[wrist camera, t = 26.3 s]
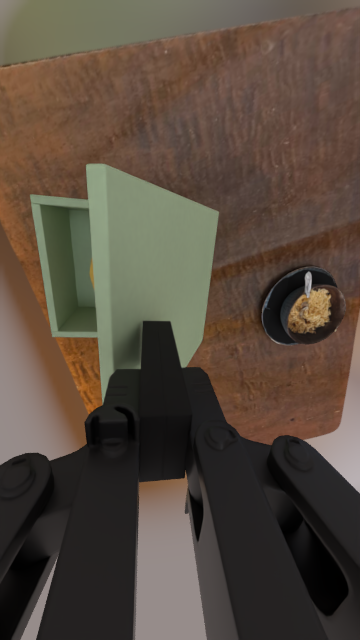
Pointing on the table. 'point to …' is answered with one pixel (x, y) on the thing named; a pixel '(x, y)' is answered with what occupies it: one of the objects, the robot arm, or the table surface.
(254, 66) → the table surface
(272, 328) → the soup bowl
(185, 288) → the chest lid
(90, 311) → the chest
